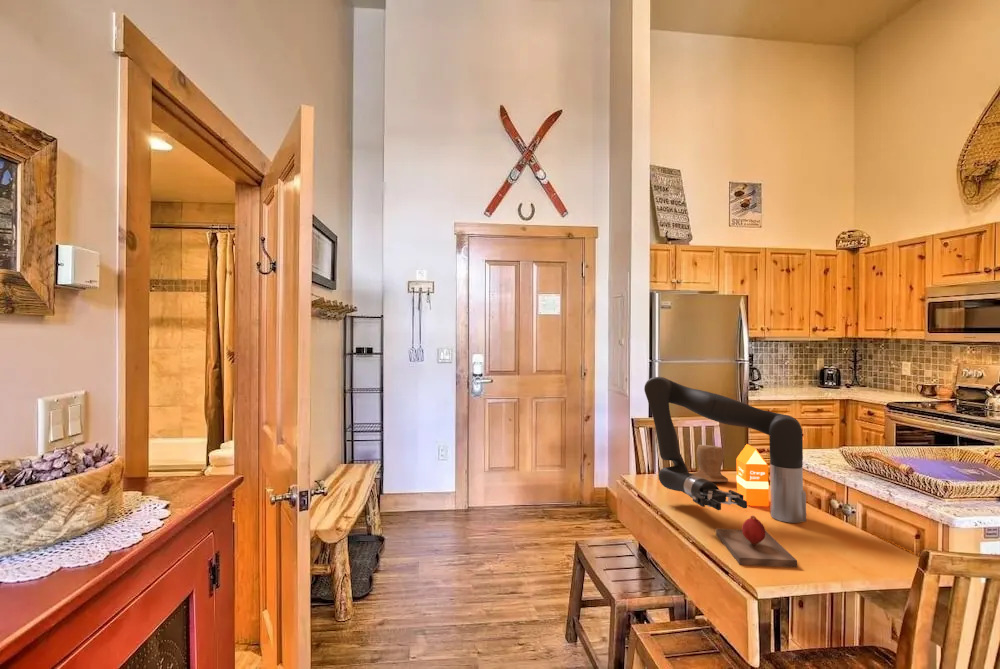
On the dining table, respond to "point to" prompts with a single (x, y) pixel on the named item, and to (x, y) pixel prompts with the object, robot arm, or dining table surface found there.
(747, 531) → the onion
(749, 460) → the orange juice
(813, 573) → the dining table surface
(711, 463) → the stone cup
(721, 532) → the cutting board
